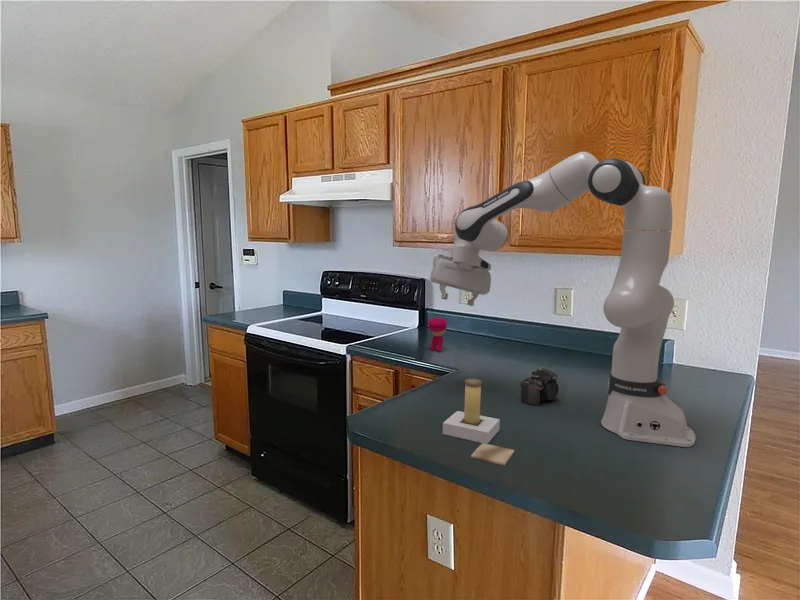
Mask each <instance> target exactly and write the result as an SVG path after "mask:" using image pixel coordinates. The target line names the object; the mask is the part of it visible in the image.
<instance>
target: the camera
mask: <svg viewBox="0 0 800 600" xmlns="http://www.w3.org/2000/svg"><path fill="white" fill-rule="evenodd" d="M557 379H558V375H557V374H556V373H555V372H553V371H551V370H549V369H547V368H545V367H540V368H539V367H537V369H536V370H535V371H532V372H531V376H530V377H527V378H524V379H523V380H522V382H521V383H520V390H521V391H520V398H521V399H520V400H521V401H522V402H523V403H524V404H527V405H529V404H530V405H529V406H533V405H534V407H538V406H540V402H544V401H553V400H555V398H557V396H558V394H559V391H560V390H559V384H558V383H557Z"/></svg>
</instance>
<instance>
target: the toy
mask: <svg viewBox="0 0 800 600" xmlns="http://www.w3.org/2000/svg"><path fill="white" fill-rule="evenodd" d="M427 325H428V330H429V331H431V333H432V335H434V336H432V339H431V343H430V350H431V351H433V352H434V351H436V349H437V352H439V353H441V352H442V351H443V345H444V337H443V335H444V334H445V332H446V330H447V328H448V327H447V325H448V321H447V320H446V319H445V318H443V317H439V316H438V317H432V318H430V319H428V321H427Z"/></svg>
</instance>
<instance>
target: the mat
mask: <svg viewBox="0 0 800 600" xmlns="http://www.w3.org/2000/svg"><path fill="white" fill-rule="evenodd" d="M514 454H515V450H514V449H511V448H506V447H504V446H503V447H502V446H498V445H493V444H489V443H488V444H485V443H481V444H480V445H478V447H477V448H476V449H475V450H474V451H473V453H471V455H470V458H471V459H475V460H479V461H482V462H483V461H484V462H487V463H491V464H496V465H500V466H503V467H504V466H505V467H506V465H507V463H508V462H509V461H510V459H511V457H512V456H513V455H514Z"/></svg>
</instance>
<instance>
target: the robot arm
mask: <svg viewBox="0 0 800 600" xmlns="http://www.w3.org/2000/svg"><path fill="white" fill-rule="evenodd" d="M589 192H590V193H591V194H592V195H593V196H594V197H595V198H596V199H598V200H599V201H602V202H604V203H607V204H610V205H614V206H615V205H616V206H619V207H621V208H622V209H623V213H624V214H623V215H624V222H623V232H622V241H621V242H622V243H621V252H620V258H619V259H620V260H619V265H618V268H617V272H616V274H615V278H614V280H613V284H612V287H611V290H610V291H609V294H608V295H607V296H606V298H605V300H604V302H603V306H602V309H603V314H604V316H605V318H606V320H607V321H608V322H609V323H610V324H611V325H613V326H614V327H618V328H620V331H619V335H618V337H617V339H616V340H615V343H614V344H613V349H612V360H611V372H610V373H609V377H608V381H607V382H608V383H607V394H608V398H607V401H606V406H605V410H604V413H603V415H602V418H601V420H600V423H601V425H602V427H604V428H605V429H607V430H608V431H610V432H612V433H614V434H617V435H618V436H619V437H620V438H622V439H624V440H627V441H635V442H643V443H652V444H658V445H666V446H667V445H668V446H674V447H682V448H690V447H693V446H694V445H695V444H696V433H695V432H694V430H693V429H692V428H691V427H690V426H688V425H687V419H686V416H685V413H684V411H683V409H682V408H681V407H679V406H678V405H677V404H676V403H674V402H673V401H672V399H670V398H669V397H667V396H666V394H667V392H668V388H667V386H666V384H665V383H664V380H660V379H658V373H659V360H660V353H661V352H660V351H661V347H662V343H663V340H664V336H665V333H666V330H667V325H668V322H669V319H670V315H671V313H672V311H673V309H674V307H675V306H674V305H675V300H674V296H673V294H672V292H670V290H669V289H668V288H666V287H665V286H663V285H660V283H661V279H662V276H663V275H664V271H665V270H666V269H665V268H666V267H667V265H668V263H669V261H670V259H669V257H670V251H671V250H670V249H671V248H670V247H671V241H672V240H671V239H672V228H673V203H672V196H671V194H670V193H669V191H668V190H666V189H665V188H663V187H660V186H654V185H652V186H651V185H646V180H645V176H644V174H643V172H642V171H641V170H640V169H639V168H638V167H635V165H634V164H632V163H631V162H629V161H626V160H622V159H621V158H616V157H615V158H613V157H612V158H607V159H603V160H601V161H599V160H598V159H597V157H596V156H595V155H593V153H592V154H591V153H590V152H588V151H578V152H577V153H574V154H573V155H570V156H569V157H566V158H565V159H563V160H561V161H560V162H558V163H557V164H555V165H554V166H552V167H550V168H549V169H548V170H546V171H544V172H543V173H541V174H539V175H537V176H535V177H532V178H530V179H527V180H523V181H519V182H516V183H514V184H513V185H509V187H507V188H505V189H503V190H502V191H500V192H498V193H496V194H495V195H493V196H491V197H490V198H488V199H485V200H484V201H482V202H480V203H478V204H475V205H473V206H472V205H471V206H469V207H467V208H465V209H463V210H462V211H461V212H459V214H458V215H457V217H456V219H455V223H454V227H455V228H454V234H453V241H454V242H453V246H452V248H451V252H450V256H449V255H444V254H437V255H435V256H434V258H433V263H432V264H433V266H432V270H431V273H430V277H429V278H430V282H431V283H434V284H438V285H439V290H440V293H441V296H440V297H441V300H448V299H449V293H447V291H446V288H447V287H450V288H453V289H456V290H460V291H465V292H470V293H471V298H470V299H467V304H466V305H467V306H470V307H474V305H475V301H476V300H477V298H478V297H479V295H481V296H483V295H488V293H490V291H491V284H492V276H491V273H490V272H489V271H491V270H492V265H491V263H489V262H488V261H486V260H485V259H484V258H482V257H481V256H480V255H479V254H480V251H481V250H483V251H490V252H493V251H494V252H496V251H499V250H500V249H501V248H502V247H504V245H505V244H506V242H507V240H508V233H509V232H508V227H506V225H505V224H503V222H501V221H499V220H498V218H499V217H502V216H503V215H505V214H507V213H509V212H511V211H513V210H519V209H530V210H535V211H541V212H549V213H550V212H554V211H558V210H559V209H561V208H563V207H566V206H567V205H569V204H570V203H571V202H573V201H574V200H576V199H577V198H580V197H581V196H582V195H584V194H586V193H589Z"/></svg>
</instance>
